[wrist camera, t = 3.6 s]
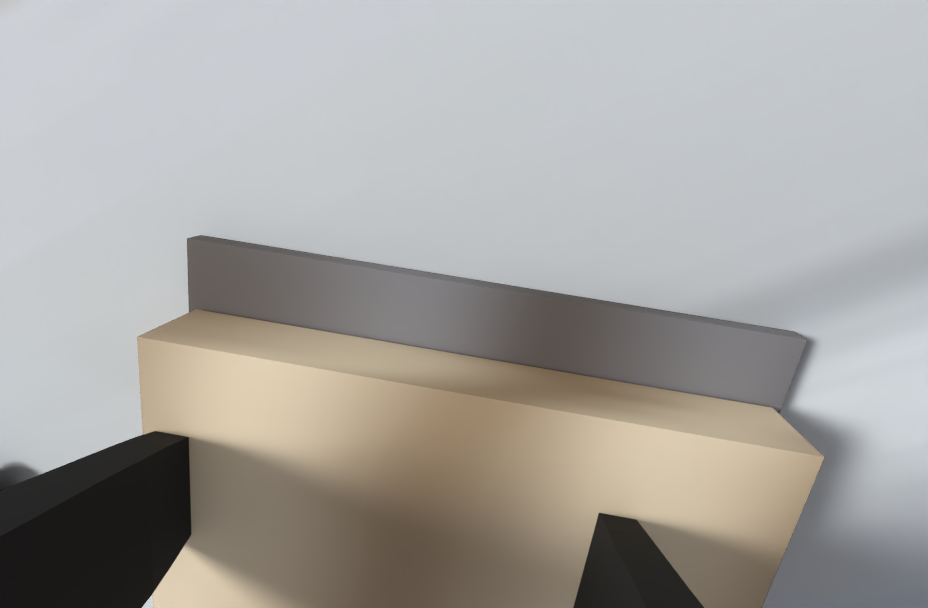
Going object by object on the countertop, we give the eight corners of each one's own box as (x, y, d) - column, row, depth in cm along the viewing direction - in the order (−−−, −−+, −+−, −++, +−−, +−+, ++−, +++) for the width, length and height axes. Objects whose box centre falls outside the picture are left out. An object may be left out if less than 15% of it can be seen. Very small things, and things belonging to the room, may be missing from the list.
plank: (772, 407, 9) (825, 456, 7) (658, 717, 11) (680, 802, 9) (196, 309, 9) (137, 336, 8) (202, 623, 11) (157, 690, 10)
